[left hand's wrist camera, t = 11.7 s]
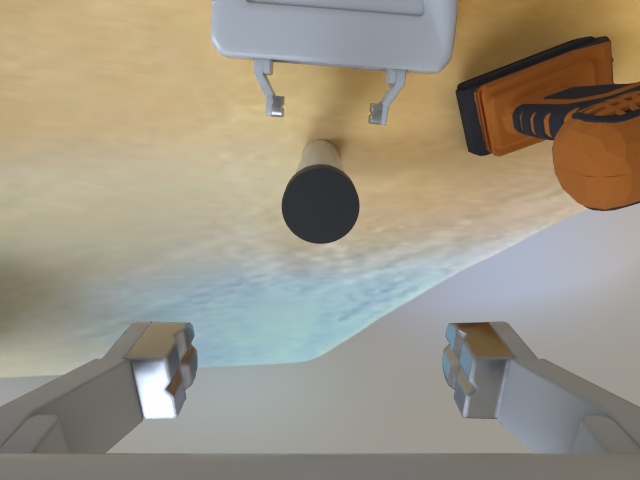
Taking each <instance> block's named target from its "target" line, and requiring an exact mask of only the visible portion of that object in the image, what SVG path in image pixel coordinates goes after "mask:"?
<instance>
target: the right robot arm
mask: <svg viewBox="0 0 640 480" xmlns="http://www.w3.org/2000/svg"><path fill="white" fill-rule="evenodd" d="M457 3H458V0H213V2H212V14H211V41H212V44H213V46H214V47H215V48H216V50H217V51H218V52H219V54H220V55H222V56H224V57H227V58H232V59H244V60H254V74H255V76H256V78H257V80H258V82H259V84H260V86H261V88H262V90H263V92H264V94H265V95H266V116H271V117H283V116H284V108H283V105H284V97H282V96H275V93H274V90H273V88H272V86H271V84H270V82H269V80H268V78H267V76H266V74H267V75H272V74H273V62H282V63H294V64H307V65H319V66H332V67H345V68H357V69H370V70H382V71H386V79H385V83H386V84H389V85H390V84H391V86H390V88H389V89H388V91H387V92H386V93H385V95H384V96H383V98H382V99H381V101H380V102H379V104H373V103H370V110H369V111H370V113H371V114H370V115H369V120H368V123H369V124H378V125H386V122H387V115H388V108H389V105H390V104H391V103H392V101H393V100H394V99H395V97H396V96H397V94H398V93H399V92H400V90H401V89H402V87H403V86H404V83H405V77H406V72H408V73H420V74H435V73H438V72H440V71H441V70H442V69H443V68H444V67H445V66H446V65H447V64H448V63H449V61H450V59H451V56H452V52H453V46H454V39H455V31H456V20H457Z"/></svg>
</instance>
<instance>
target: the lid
mask: <svg viewBox="0 0 640 480" xmlns="http://www.w3.org/2000/svg"><path fill="white" fill-rule="evenodd" d="M282 214H283V217H284V220H285V222H286V224H287V226H288V227H289V229H290V230H291V231H292V232H293V233H294V234H295V235H296V236H298V237H299V238H301V239H303V240H305V241H307V242H311V243H317V244H324V243H330V242H334V241H336V240H338V239H340V238H342V237H343V236H345V235H346V234H347V233H348V232H349V231H350V230H351V229H352V227H353V226H354V224H355V222H356V220H357V218H358V214H359V198H358V195H357V192H356V189H355V187H354V184H353V183H352V181H351V179H350V178H349V177H348V176H347V175H346V174H345V173H344V172H343V171H341V170H340V169H338V168H336V167H334V166H331V165H326V164H315V165H310V166H307V167H305V168H303V169H301V170H300V171H298V172H297V173H296V174H295V175H294V176H293V177H292V178H291V180H290V181H289V183H288V185H287V187H286V190H285V192H284V195H283V199H282Z"/></svg>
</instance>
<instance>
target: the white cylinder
mask: <svg viewBox="0 0 640 480" xmlns="http://www.w3.org/2000/svg"><path fill="white" fill-rule="evenodd" d="M315 164H326V165H331V166H334V167H336V168H338V169H340V170H341V171H343V172H344V169H343V166H342V163H341V160H340V157H339V154H338V151H337V149H336V147H335V146H334V145H333V144H332V143H330V142H328V141H326V140H315V141H312V142H311V143H309V144H308V145H307V146H306V147H305V149H304V151H303V153H302V157H301V160H300V163H299V166H298V169H297V172H298V171H300V170H301V169H303V168H305V167H307V166H310V165H315ZM297 172H296V173H297ZM344 173H345V172H344Z"/></svg>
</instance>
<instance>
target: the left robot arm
mask: <svg viewBox="0 0 640 480" xmlns="http://www.w3.org/2000/svg"><path fill="white" fill-rule="evenodd" d="M193 338H194V330H193V326H192V325H191V323H184V322H134V323H132V324H131V325H130V326H129V327H128V328H127V330H126V331H125V332H124V333H123V334H122V336H121V337H120V338H119V339H118V340H117V341H116V343H115V344H114V345H113V346H112V347H111V348H110V350H109V351H108V352H107V353H106V354H105V356H104V357H103V358H102V359H95V360H93V361H91V362H89V363H87V364H85V365H83V366H81V367H79V368H77V369H75V370H73V371H71V372H69V373H67V374H65V375H63V376H61V377H59V378H57V379H55V380H53V381H51V382H49V383H47V384H45V385H43V386H41V387H39V388H37V389H35V390H33V391H31V392H29V393H27V394H25V395H23V396H21V397H19V398H17V399H15V400H13V401H11V402H9V403H7V404H5V405H3V406H1V407H0V480H640V407H639V406H637V405H635V404H633V403H631V402H629V401H627V400H625V399H623V398H621V397H619V396H617V395H615V394H613V393H611V392H609V391H607V390H605V389H603V388H601V387H599V386H597V385H595V384H593V383H591V382H589V381H587V380H585V379H583V378H581V377H579V376H577V375H575V374H573V373H571V372H569V371H567V370H565V369H563V368H561V367H559V366H557V365H555V364H553V363H551V362H549V361H547V360H545V359H538V358H537V357H536V356H535V354H534V353H533V352H532V351H531V350H530V349H529V347H528V346H527V345H526V344H525V343H524V341H523V340H522V339H521V338H520V337H519V336H518V334H517V333H516V332H515V331H514V330H513V328H512V327H511V326H510V325H509V324H508V323H506V322H481V323H449V324H448V326H447V330H446V338H447V340H448V342H449V345H448V346H447V347H446V348H445V349H444V350H443V359H442V361H443V372H444V375H445V379H446V381H447V383H448V385H449V386H450V387H452V388H453V389H454V390H455V394H454V399H455V401H456V404H457V406H458V408H459V410H460V412H461V414H462V417H463V418H482V419H497V421H498V422H499V423H501V424H502V425H503V426H504V427H505V428H506V429H508V430H509V431H510V432H511V433H512V434H513V435H515V436H516V437H517V438H518V439H519V440H520V441H521V442H523V443H524V444H525V445H526V446H527V447H528V448H529V449H531V450H532V451H533V452H534V453H106V452H107V451H108V450H109V449H111V448H112V447H113V446H114V445H115V444H116V443H118V442H119V441H120V440H121V439H122V438H123V437H124V436H126V435H127V434H128V433H129V432H130V431H132V430H133V429H134V428H135V427H136V426H137V425H138V424H140V423H141V422H142V421H143V419H158V418H177V417H178V415H179V412H180V410H181V408H182V406H183V403H184V401H185V399H186V394H185V390H186V389H187V388H188V387H190V386H191V385H192V383H193V381H194V379H195V376H196V370H197V350H196V349H195V348H194V347H193V346H192V345H191V342H192V340H193Z"/></svg>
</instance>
